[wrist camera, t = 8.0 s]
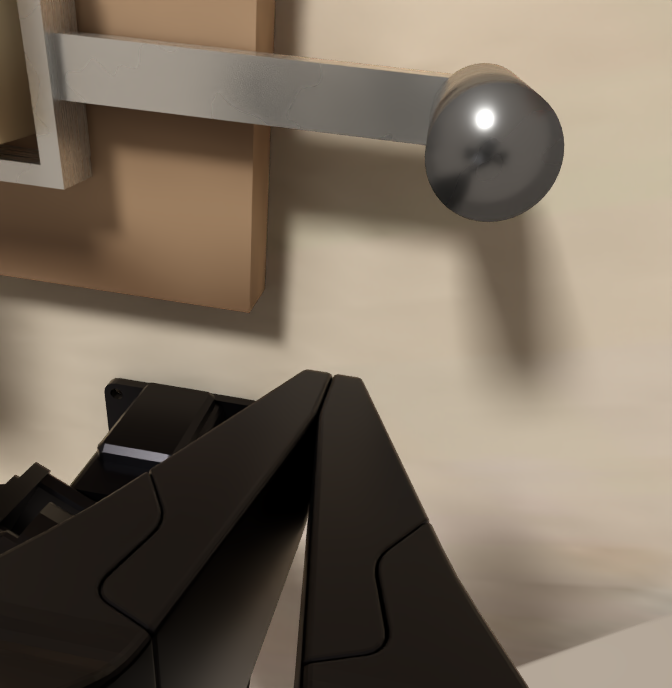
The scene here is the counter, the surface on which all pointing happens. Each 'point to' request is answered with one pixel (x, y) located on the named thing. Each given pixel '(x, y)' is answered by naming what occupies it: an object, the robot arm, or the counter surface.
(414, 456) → the counter surface
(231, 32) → the tunnel deck
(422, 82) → the sled
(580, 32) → the counter surface
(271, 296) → the counter surface
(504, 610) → the counter surface
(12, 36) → the maple block
